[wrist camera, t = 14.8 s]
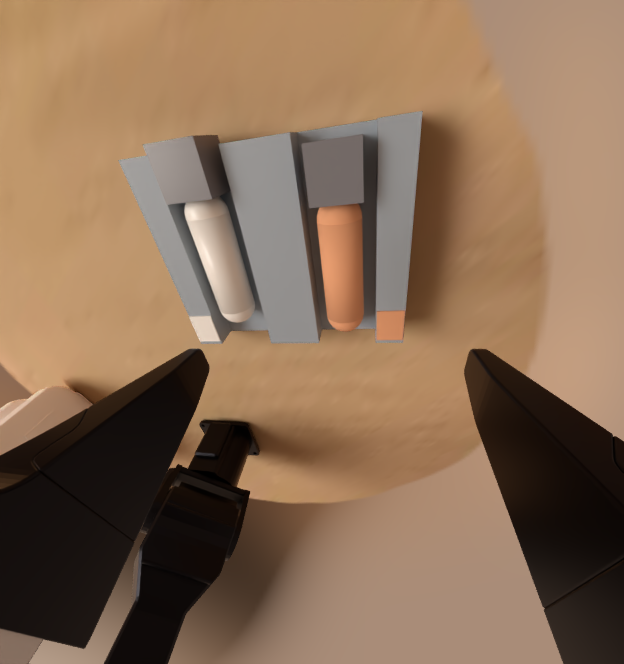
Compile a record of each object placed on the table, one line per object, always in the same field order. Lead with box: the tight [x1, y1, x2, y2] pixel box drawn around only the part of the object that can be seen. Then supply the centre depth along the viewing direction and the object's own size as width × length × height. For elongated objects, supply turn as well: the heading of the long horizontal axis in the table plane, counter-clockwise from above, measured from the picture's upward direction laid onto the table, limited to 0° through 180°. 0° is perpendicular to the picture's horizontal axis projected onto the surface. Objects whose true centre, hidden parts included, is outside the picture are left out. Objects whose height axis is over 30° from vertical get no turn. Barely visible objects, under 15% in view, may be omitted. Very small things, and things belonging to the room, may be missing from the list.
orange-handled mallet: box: [301, 134, 364, 331], centre depth 17 cm, size 12×3×3 cm, turn 7°
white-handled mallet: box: [143, 135, 255, 323], centre depth 18 cm, size 12×3×3 cm, turn 7°
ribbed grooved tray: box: [118, 111, 422, 344], centre depth 18 cm, size 13×16×3 cm
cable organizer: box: [0, 386, 93, 455], centre depth 34 cm, size 15×11×12 cm
